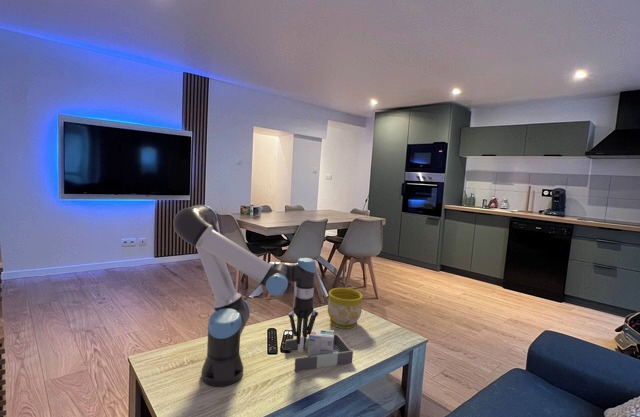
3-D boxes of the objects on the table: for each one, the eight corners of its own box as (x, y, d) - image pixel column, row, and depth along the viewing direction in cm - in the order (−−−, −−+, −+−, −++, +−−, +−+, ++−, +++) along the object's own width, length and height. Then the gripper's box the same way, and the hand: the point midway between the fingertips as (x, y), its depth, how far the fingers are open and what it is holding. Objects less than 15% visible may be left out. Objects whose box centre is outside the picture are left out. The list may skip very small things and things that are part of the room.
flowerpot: (343, 335, 163) (346, 303, 161) (319, 321, 176) (321, 291, 174) (367, 325, 175) (370, 295, 173) (342, 313, 188) (345, 285, 186)
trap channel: (295, 371, 130) (295, 359, 130) (284, 350, 144) (285, 340, 144) (352, 362, 139) (353, 351, 139) (336, 344, 154) (337, 333, 153)
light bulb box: (332, 353, 145) (334, 329, 144) (332, 361, 139) (334, 337, 138) (308, 350, 146) (310, 327, 145) (306, 358, 140) (308, 334, 138)
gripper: (291, 300, 130) (287, 357, 133) (322, 298, 135) (318, 353, 137) (286, 293, 137) (282, 347, 140) (315, 291, 142) (311, 344, 144)
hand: (300, 350), depth 138 cm, fingers closed
